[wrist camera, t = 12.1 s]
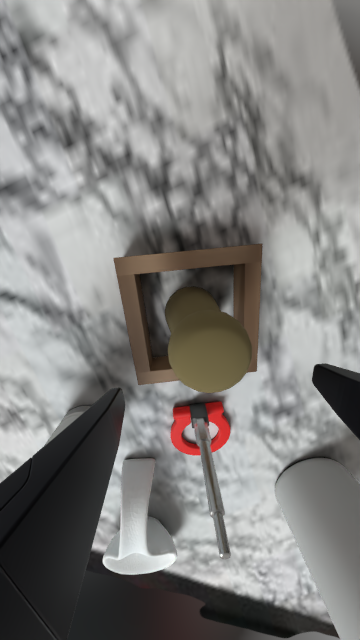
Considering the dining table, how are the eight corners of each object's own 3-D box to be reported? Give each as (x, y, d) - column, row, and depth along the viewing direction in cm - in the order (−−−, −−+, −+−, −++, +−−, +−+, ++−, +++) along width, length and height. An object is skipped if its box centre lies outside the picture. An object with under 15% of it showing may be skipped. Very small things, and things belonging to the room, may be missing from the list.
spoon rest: (176, 542, 34) (177, 613, 27) (114, 547, 33) (99, 621, 26) (176, 453, 27) (179, 517, 20) (98, 457, 26) (72, 525, 19)
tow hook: (228, 443, 27) (227, 396, 24) (276, 595, 15) (287, 542, 12) (174, 451, 27) (165, 405, 24) (179, 610, 15) (162, 560, 12)
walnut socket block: (247, 247, 18) (262, 243, 15) (245, 357, 22) (256, 371, 19) (122, 259, 18) (113, 258, 15) (142, 369, 22) (138, 385, 19)
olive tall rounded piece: (163, 336, 21) (157, 409, 10) (166, 284, 19) (161, 308, 8) (214, 338, 21) (258, 410, 11) (220, 288, 19) (281, 314, 9)
